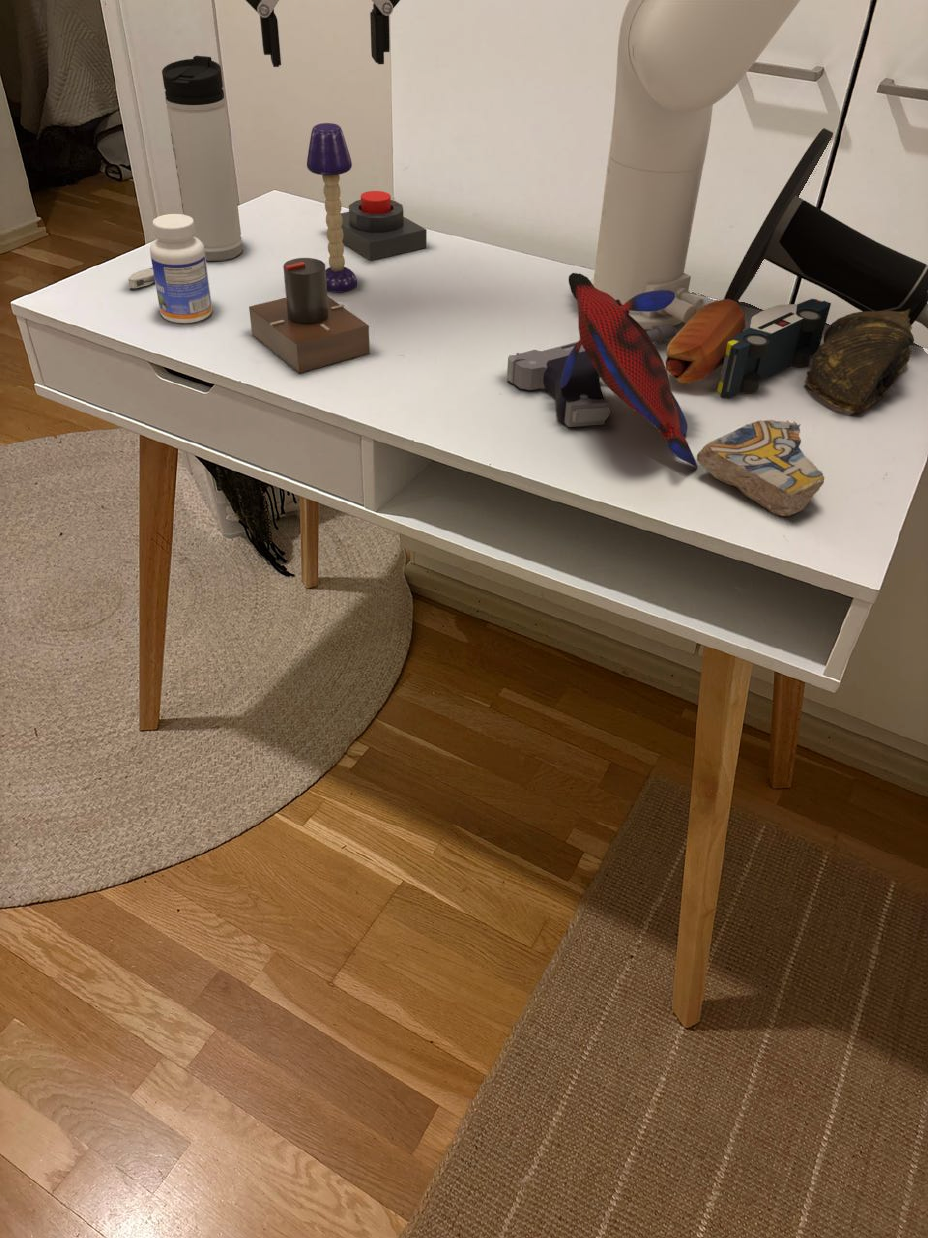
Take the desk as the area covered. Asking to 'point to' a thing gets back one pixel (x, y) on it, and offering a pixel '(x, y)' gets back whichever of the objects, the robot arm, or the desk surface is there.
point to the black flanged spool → (832, 252)
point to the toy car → (772, 345)
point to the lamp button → (375, 202)
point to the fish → (628, 357)
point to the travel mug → (203, 154)
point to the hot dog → (704, 341)
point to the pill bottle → (180, 270)
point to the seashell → (861, 358)
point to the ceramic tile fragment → (765, 465)
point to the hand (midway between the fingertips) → (327, 61)
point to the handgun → (582, 391)
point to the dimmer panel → (310, 335)
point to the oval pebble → (141, 278)
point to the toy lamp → (332, 197)
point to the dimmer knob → (306, 290)
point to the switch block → (381, 232)
